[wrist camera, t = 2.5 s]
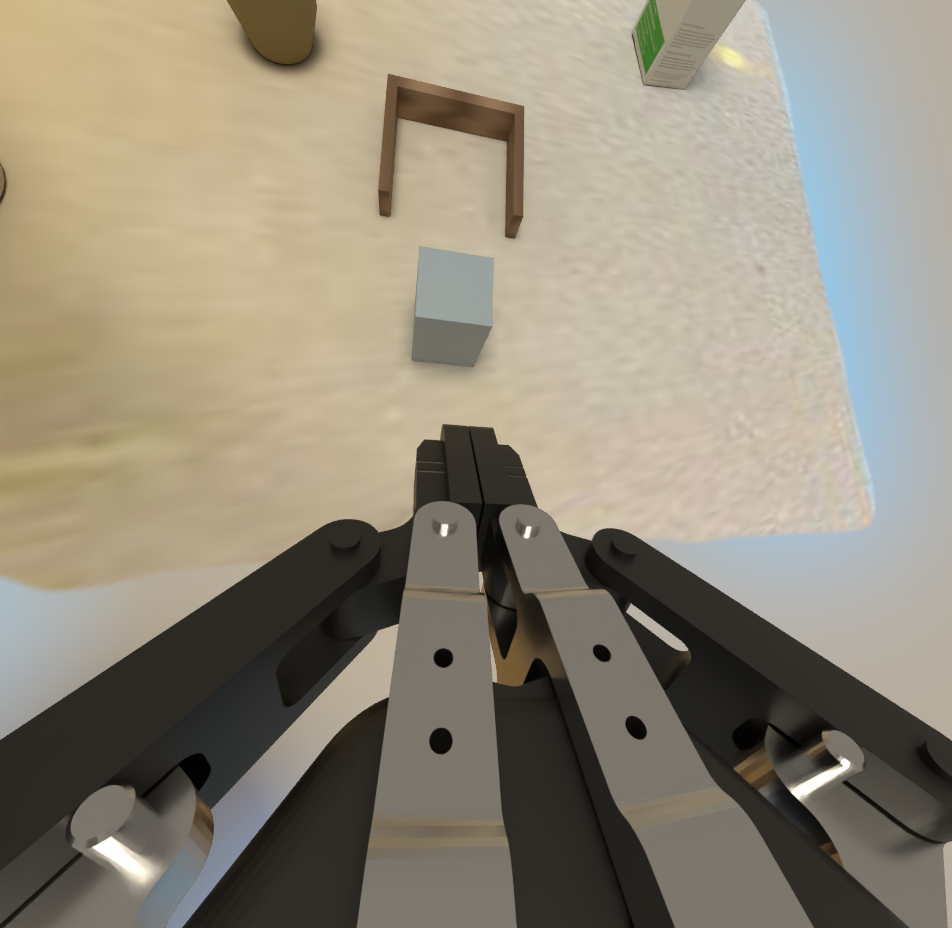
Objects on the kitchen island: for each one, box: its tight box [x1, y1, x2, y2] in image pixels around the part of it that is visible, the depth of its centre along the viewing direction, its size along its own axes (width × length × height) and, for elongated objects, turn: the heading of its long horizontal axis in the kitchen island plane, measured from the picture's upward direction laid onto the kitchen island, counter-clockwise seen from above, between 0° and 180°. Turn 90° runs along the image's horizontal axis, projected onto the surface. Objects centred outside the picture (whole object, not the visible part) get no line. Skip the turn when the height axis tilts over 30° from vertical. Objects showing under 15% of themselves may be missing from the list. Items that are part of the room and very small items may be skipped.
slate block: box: [412, 246, 494, 367], centre depth 35 cm, size 6×6×8 cm
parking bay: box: [378, 74, 524, 238], centre depth 40 cm, size 14×13×3 cm
